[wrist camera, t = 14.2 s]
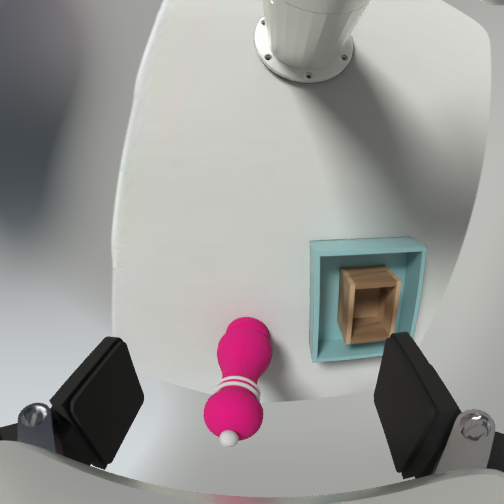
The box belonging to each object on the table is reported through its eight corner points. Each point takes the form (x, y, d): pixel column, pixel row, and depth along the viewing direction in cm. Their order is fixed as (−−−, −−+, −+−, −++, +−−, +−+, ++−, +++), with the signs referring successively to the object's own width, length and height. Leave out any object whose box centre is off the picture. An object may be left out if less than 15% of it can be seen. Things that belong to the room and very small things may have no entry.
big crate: (309, 240, 37) (314, 251, 32) (410, 236, 35) (426, 246, 31) (309, 342, 41) (312, 362, 36) (398, 333, 39) (409, 351, 35)
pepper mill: (281, 327, 40) (282, 439, 21) (258, 361, 42) (245, 470, 23) (236, 305, 40) (205, 410, 21) (215, 342, 42) (179, 447, 23)
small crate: (339, 267, 37) (350, 284, 31) (384, 264, 36) (401, 280, 30) (336, 321, 39) (345, 344, 33) (379, 317, 38) (392, 339, 32)
